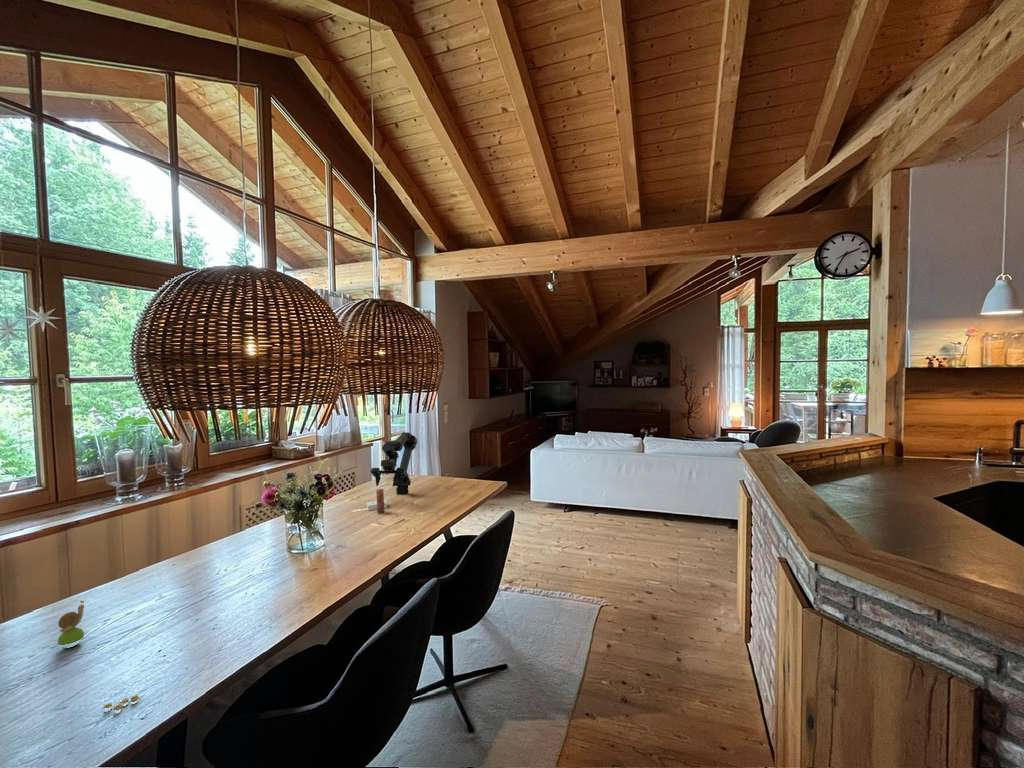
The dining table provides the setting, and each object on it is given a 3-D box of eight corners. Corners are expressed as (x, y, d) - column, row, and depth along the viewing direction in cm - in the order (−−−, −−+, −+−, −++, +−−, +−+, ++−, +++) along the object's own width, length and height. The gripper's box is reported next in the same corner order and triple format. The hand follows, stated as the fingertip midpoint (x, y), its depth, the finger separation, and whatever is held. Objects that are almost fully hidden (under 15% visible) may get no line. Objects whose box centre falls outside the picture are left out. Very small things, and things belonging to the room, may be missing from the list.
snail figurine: (93, 640, 133) (90, 601, 133) (67, 653, 127) (64, 613, 126) (79, 637, 135) (76, 599, 134) (53, 651, 128) (50, 611, 128)
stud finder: (385, 504, 248) (385, 499, 248) (387, 507, 242) (386, 502, 242) (366, 507, 244) (366, 502, 244) (367, 510, 239) (367, 505, 238)
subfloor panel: (384, 501, 257) (384, 499, 257) (388, 510, 241) (388, 508, 241) (349, 506, 250) (349, 504, 250) (351, 516, 234) (351, 513, 234)
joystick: (385, 513, 238) (384, 488, 237) (386, 515, 233) (385, 490, 232) (375, 514, 236) (374, 489, 235) (376, 517, 231) (375, 491, 230)
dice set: (140, 703, 108) (140, 695, 108) (116, 719, 104) (115, 711, 103) (127, 698, 110) (126, 691, 110) (102, 714, 105) (101, 706, 105)
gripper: (370, 453, 247) (363, 479, 237) (403, 453, 245) (397, 479, 235) (377, 463, 255) (370, 488, 245) (409, 463, 253) (403, 488, 243)
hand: (385, 486), depth 242 cm, fingers open, 9 cm apart
